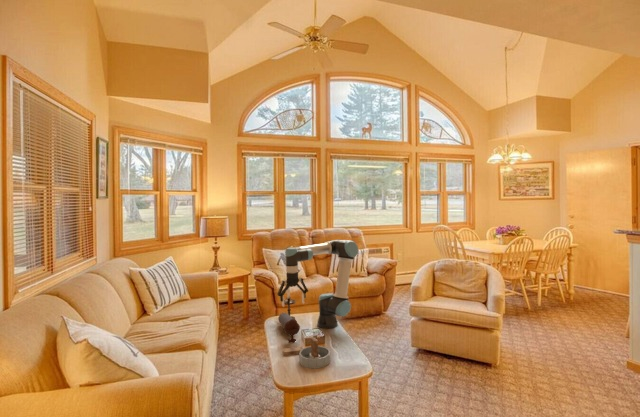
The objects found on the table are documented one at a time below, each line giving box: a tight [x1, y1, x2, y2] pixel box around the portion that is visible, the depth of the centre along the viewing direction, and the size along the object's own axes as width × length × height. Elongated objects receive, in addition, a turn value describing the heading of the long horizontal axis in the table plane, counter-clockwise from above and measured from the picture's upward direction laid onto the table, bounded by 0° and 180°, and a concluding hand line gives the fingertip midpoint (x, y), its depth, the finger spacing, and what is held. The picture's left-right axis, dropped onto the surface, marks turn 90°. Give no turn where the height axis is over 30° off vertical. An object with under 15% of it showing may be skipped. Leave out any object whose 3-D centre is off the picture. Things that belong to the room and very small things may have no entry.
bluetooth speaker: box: [278, 312, 292, 329], centre depth 245 cm, size 23×9×10 cm, turn 21°
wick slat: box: [310, 337, 319, 358], centre depth 196 cm, size 2×5×12 cm, turn 23°
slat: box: [282, 346, 304, 357], centre depth 208 cm, size 12×5×2 cm, turn 100°
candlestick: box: [284, 287, 296, 320], centre depth 267 cm, size 11×11×35 cm
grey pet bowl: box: [298, 345, 331, 369], centre depth 196 cm, size 18×18×5 cm
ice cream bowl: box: [283, 318, 301, 343], centre depth 225 cm, size 11×11×15 cm
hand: (293, 304), depth 217 cm, fingers open, 13 cm apart
